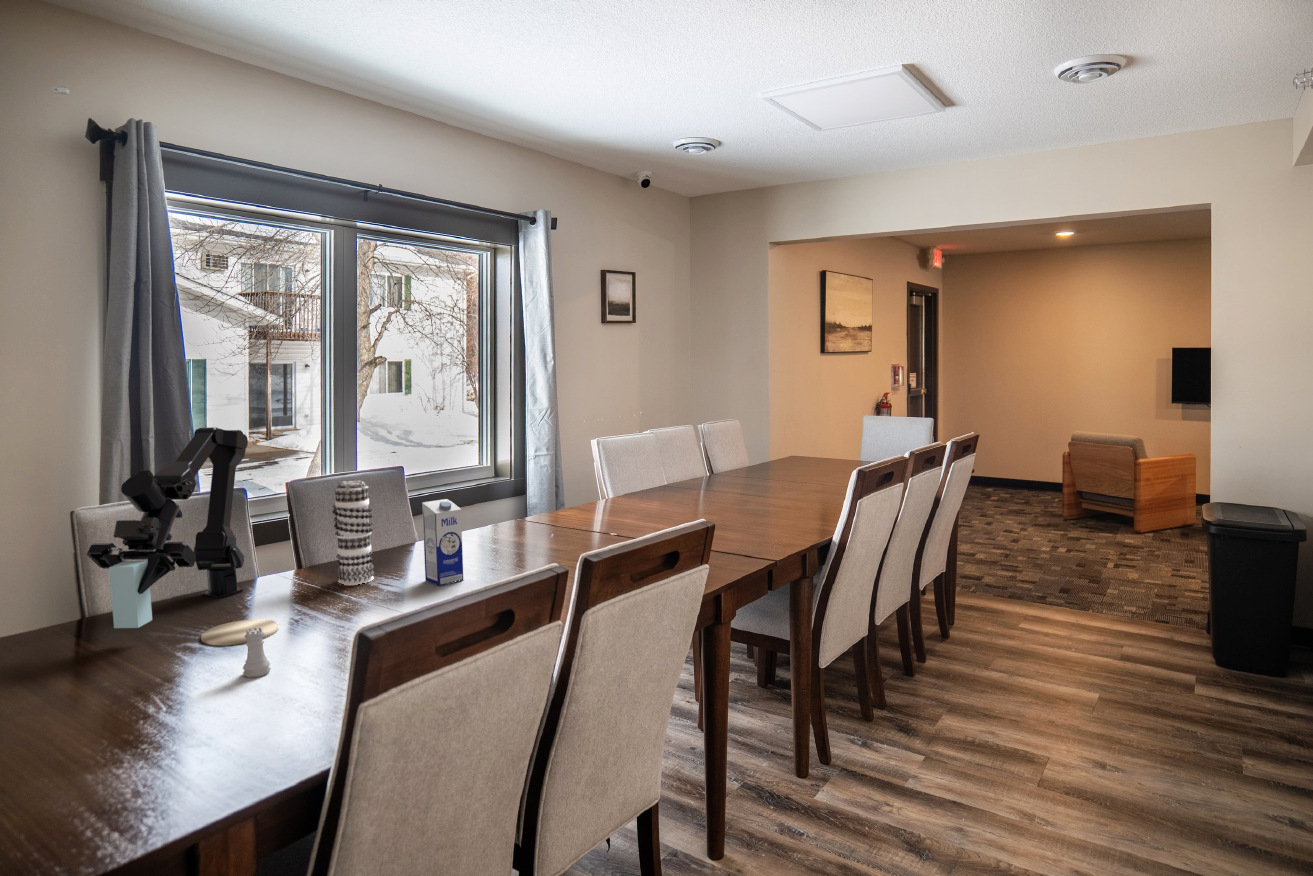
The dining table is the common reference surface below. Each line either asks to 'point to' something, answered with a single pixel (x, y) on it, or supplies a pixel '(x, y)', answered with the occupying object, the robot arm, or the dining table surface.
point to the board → (237, 632)
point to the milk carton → (442, 542)
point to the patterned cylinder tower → (353, 533)
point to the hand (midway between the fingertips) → (126, 593)
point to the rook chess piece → (255, 655)
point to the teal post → (129, 595)
